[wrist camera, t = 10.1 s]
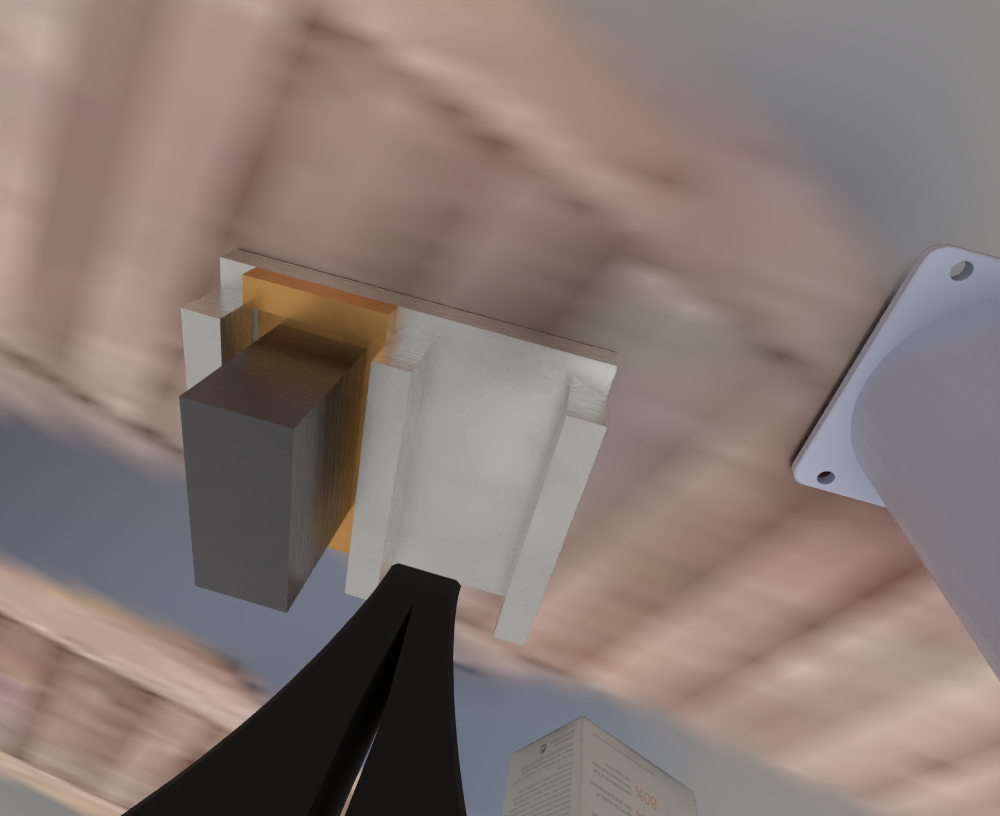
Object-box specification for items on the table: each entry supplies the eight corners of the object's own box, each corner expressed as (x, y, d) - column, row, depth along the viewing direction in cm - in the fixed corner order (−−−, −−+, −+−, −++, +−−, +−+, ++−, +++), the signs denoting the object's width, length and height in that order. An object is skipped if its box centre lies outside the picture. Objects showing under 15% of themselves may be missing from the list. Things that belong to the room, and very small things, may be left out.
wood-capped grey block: (367, 348, 18) (293, 429, 14) (350, 509, 22) (286, 612, 18) (279, 324, 19) (179, 396, 14) (275, 488, 22) (195, 585, 18)
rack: (617, 353, 18) (618, 397, 16) (533, 585, 24) (524, 645, 21) (237, 249, 19) (178, 275, 16) (242, 501, 24) (199, 550, 22)
